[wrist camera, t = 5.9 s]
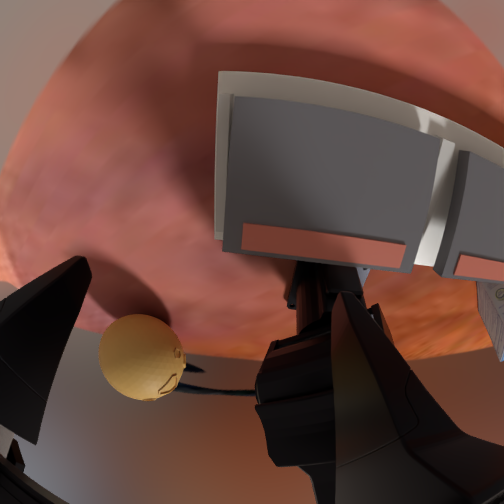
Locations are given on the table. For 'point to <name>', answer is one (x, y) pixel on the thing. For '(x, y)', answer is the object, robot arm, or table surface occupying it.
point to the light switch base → (362, 103)
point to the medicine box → (492, 313)
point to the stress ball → (141, 357)
